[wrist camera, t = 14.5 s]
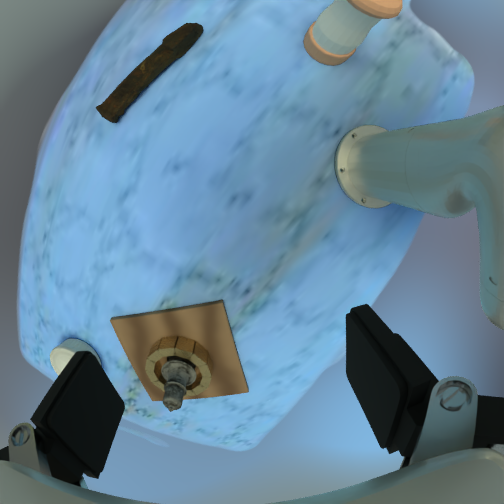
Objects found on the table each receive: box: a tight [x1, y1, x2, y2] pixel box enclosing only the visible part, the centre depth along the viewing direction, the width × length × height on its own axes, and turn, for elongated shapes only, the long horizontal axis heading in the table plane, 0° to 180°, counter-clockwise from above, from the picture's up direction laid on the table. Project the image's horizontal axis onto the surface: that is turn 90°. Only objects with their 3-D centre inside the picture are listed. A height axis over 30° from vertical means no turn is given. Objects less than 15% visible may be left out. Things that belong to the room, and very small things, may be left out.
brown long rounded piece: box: [96, 23, 203, 123], centre depth 29 cm, size 19×4×5 cm, turn 131°
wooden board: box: [110, 300, 249, 401], centre depth 44 cm, size 20×20×1 cm
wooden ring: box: [145, 335, 213, 397], centre depth 41 cm, size 11×11×4 cm
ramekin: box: [50, 339, 101, 375], centre depth 41 cm, size 11×11×5 cm
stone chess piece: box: [161, 356, 196, 412], centre depth 37 cm, size 6×6×12 cm
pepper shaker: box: [304, 0, 402, 66], centre depth 21 cm, size 7×7×19 cm
